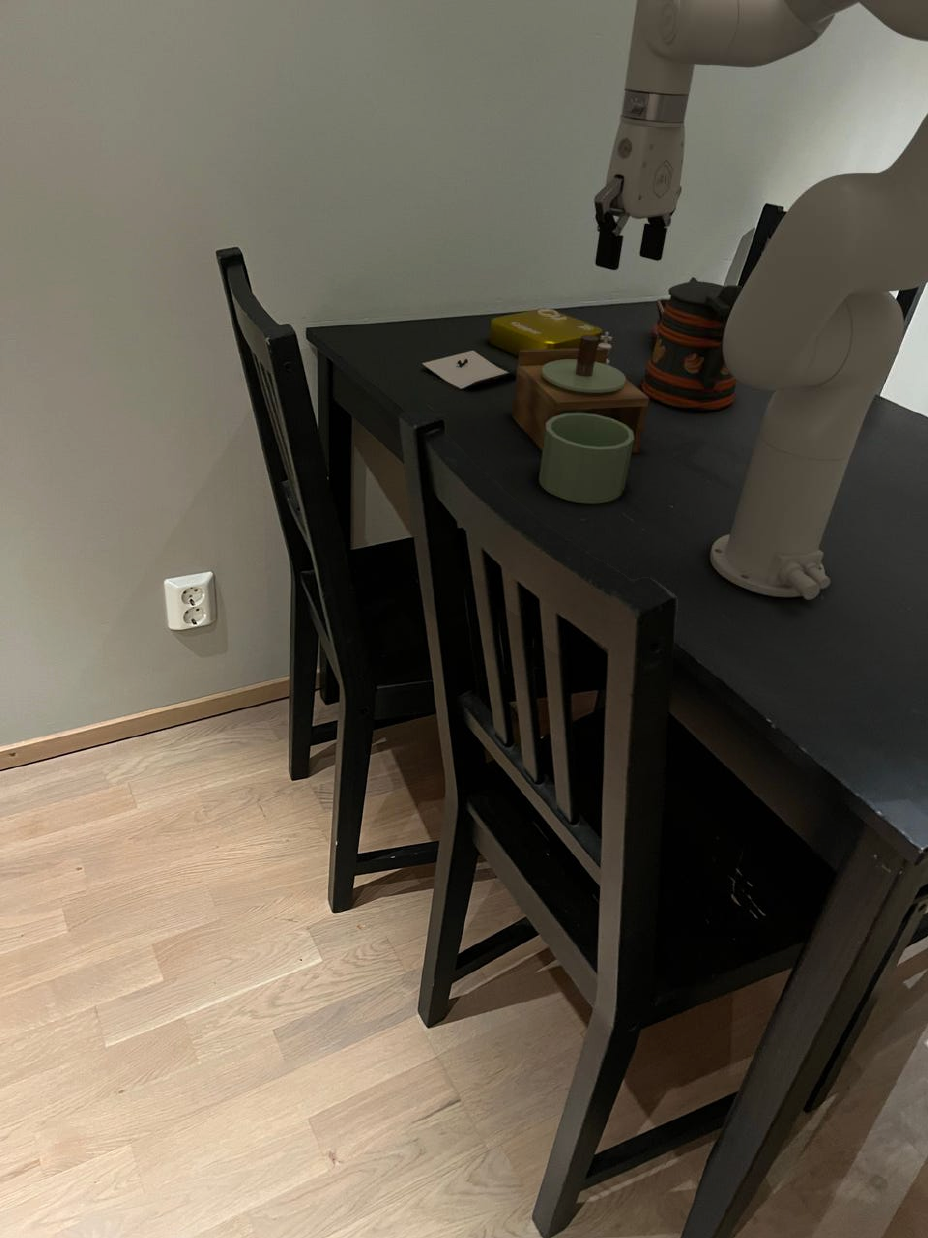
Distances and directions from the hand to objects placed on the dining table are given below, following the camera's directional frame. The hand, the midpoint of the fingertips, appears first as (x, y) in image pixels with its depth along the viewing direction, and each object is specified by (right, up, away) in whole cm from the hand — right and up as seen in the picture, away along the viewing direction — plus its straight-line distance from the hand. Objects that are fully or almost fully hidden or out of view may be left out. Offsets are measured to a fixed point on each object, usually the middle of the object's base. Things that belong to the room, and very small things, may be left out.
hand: (628, 262), depth 116 cm
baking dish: (+20, +3, +51) cm, 54 cm away
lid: (-4, -12, +10) cm, 16 cm away
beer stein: (+16, -11, +30) cm, 35 cm away
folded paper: (-19, -6, +32) cm, 38 cm away
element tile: (-7, +2, +46) cm, 46 cm away
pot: (-6, -28, +2) cm, 28 cm away
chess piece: (0, -10, +29) cm, 30 cm away
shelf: (-5, -19, +15) cm, 25 cm away
